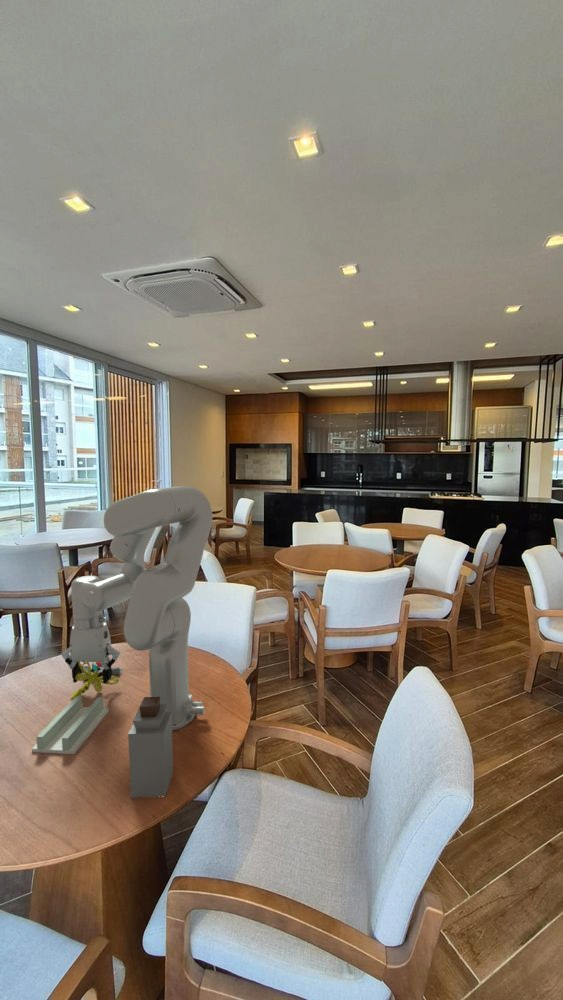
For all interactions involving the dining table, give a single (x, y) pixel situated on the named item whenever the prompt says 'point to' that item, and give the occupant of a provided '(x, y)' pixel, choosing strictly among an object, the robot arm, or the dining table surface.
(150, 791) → the perfume bottle
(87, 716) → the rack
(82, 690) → the decorative insect
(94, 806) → the dining table surface
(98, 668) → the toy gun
